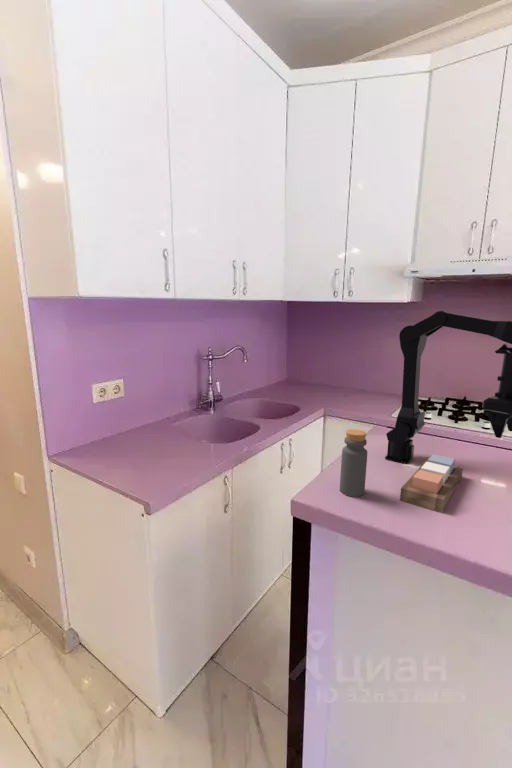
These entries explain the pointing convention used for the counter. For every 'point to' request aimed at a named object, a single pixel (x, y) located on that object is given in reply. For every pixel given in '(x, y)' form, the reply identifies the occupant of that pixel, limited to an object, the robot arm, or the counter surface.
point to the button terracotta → (427, 482)
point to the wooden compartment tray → (428, 498)
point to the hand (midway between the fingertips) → (504, 434)
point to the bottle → (353, 464)
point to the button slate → (443, 461)
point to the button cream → (437, 470)
